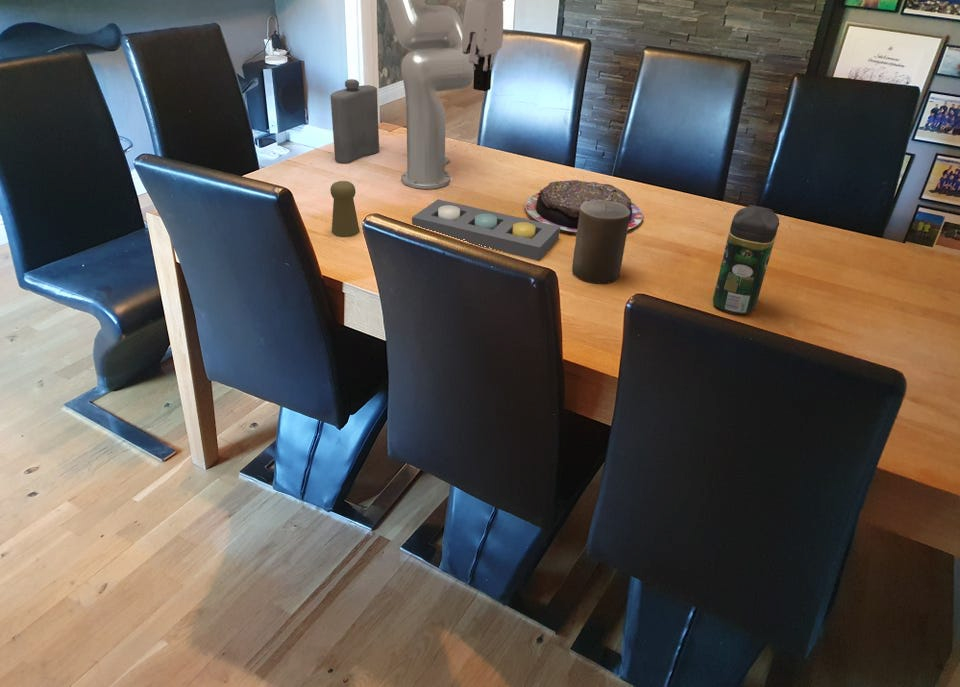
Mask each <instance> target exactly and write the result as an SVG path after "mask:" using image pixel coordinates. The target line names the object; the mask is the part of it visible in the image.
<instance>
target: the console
mask: <svg viewBox="0 0 960 687" xmlns="http://www.w3.org/2000/svg"><path fill="white" fill-rule="evenodd" d="M446 205H451V206H456V207H458V208H459V209H460V217H459V218H458V219H457V220H456V221H453V220H449V219H445V218H440V217H438V209H439V207H441V206H446ZM478 214H492V215H494V216H496V217H497V226H496V227H495V228H494V229H493V230H492V229H487V228H483V227H479V226H475V216H476V215H478ZM519 222H527V223H531V224H533V225H534V226H535V227H536V228H535V236H534V237H533V238H532V239H530V238H526V237H521V236H517V235H513V234H512V233H513V225H514V224H515V223H519ZM412 224H413V225H416V226H420V227H422V228H425V229H429V230H432V231H436V232H439V233H442V234H445V235H448V236H451V237H454V238H457V239H460V240H463V239H465V240H463V241H467V242H469V243H472V244H475V245H474V246H476V245H478V247H480V246H481V245H482V248H484V246H486V247H485V249H490V248H492V249H490V250H493V251H497V250H499V251H498V252H501V251H503V252H502V253H505V252H507V253H506V254H509V253H510V255H513V256H518V257H521V258H527V259H530V260H533V261H540V260H541V259H542V258H543V257H544V256H545V254H547V252H548V251H549V250H550V249H551V248H552V247H553V246H554V245H555V244H556V243H557V242H558V241H559V238H560V232H561V231H560V227H559V226H555V225H551V224H546V223H542V222H537V221H535V220H534V219H532V220H531V219H527V218H522V217H520V216H519V217H518V216H514V215H511V214H510V215H509V214H506V213H500V212H496V211H494V210H487V209H483V208H480V207H475V206H470V205H467V204H461V203H457V202H454V201H453V202H452V201H448V200H443V199H439V198H437V199H436V200H435V201H434V202H431V204H429V205H428V206H426V207H424V208H423V209H421V210H420V211H418V212H417V213H416V214H415V215H413V216H412V217H411V225H412ZM472 244H471V245H472ZM479 244H480V245H479ZM489 247H490V248H489ZM494 249H496V250H494Z"/></svg>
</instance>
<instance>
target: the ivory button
mask: <svg viewBox="0 0 960 687" xmlns="http://www.w3.org/2000/svg"><path fill="white" fill-rule="evenodd" d="M438 217H440V218H445V219H449V220H453V221H456V220H457V219H458V218H459V217H460V209H459V208H458V207H456V206H451V205H446V206H441V207H439V209H438Z"/></svg>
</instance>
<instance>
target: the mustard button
mask: <svg viewBox="0 0 960 687" xmlns="http://www.w3.org/2000/svg"><path fill="white" fill-rule="evenodd" d="M535 228H536V227H535V226H534V225H533V224H531V223H527V222H519V223H515V224H514V225H513V233H512V234H513V235H517V236H521V237H526V238H530V239H532V238H533V237H534V236H535Z"/></svg>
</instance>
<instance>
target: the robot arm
mask: <svg viewBox="0 0 960 687" xmlns="http://www.w3.org/2000/svg"><path fill="white" fill-rule="evenodd" d="M505 1H506V0H466V2H465V6H464V8H465V9H464V14H463V21H462V20H461V17H460V15H459V13H458V12H457V11H456V10H455V9H454V8H453V7H451V6H449V5H444V4H443V5H442V4H441V5H428V4H427V3H425V0H385V2H386V6H387V9H388V12H389V15H390V19H391V21H392V25H393V29H394V32H395V34H396V35H395V36H396V37H397V40H398V42H399V44H400V45H401V47H402V48H404V49H406V50H408V51H409V50H410V52H408V53H406V55H405V56H404V57H403V59H402V62H401V76H402V80H403V86H404V95H405V105H406V106H405V110H406V111H405V112H406V113H405V114H406V159H407V160H406V161H407V163H406V165H407V168H406V169H407V170H405V171H404V172H403V173H401V182H402V183H403V184H404V185H406V186H409V187H411V188H414V189H415V188H416V189H420V190H421V189H422V190H424V189H425V190H430V189H432V190H433V189H439V188H444V187H446V186H447V185H449V184H450V183H451V181H452V180H451V178H452V177H451V174H450V173H449V172H447V171H446V166H447V165H449V164H450V163H451V158H450V157H449V156H446V121H447V120H446V119H447V118H446V109H445V107H444V104H443V102H441V100H440V99H439V97H438V95H437V93H441V92H446V91H456V90H457V91H458V90H463V89H467V88H469V87H470V86H471V85H472V84H473V85H472V86H473V87H472V89H473V90H476V91H482V92H488V91H490V90H491V85H492V69H493V65H494V64H493V63H494V58H495V57H496V56H497V54H498V51H500V50H501V48H502V46H503V45H502V44H503V39H504V38H503V36H504V2H505ZM411 50H412V51H411Z"/></svg>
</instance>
